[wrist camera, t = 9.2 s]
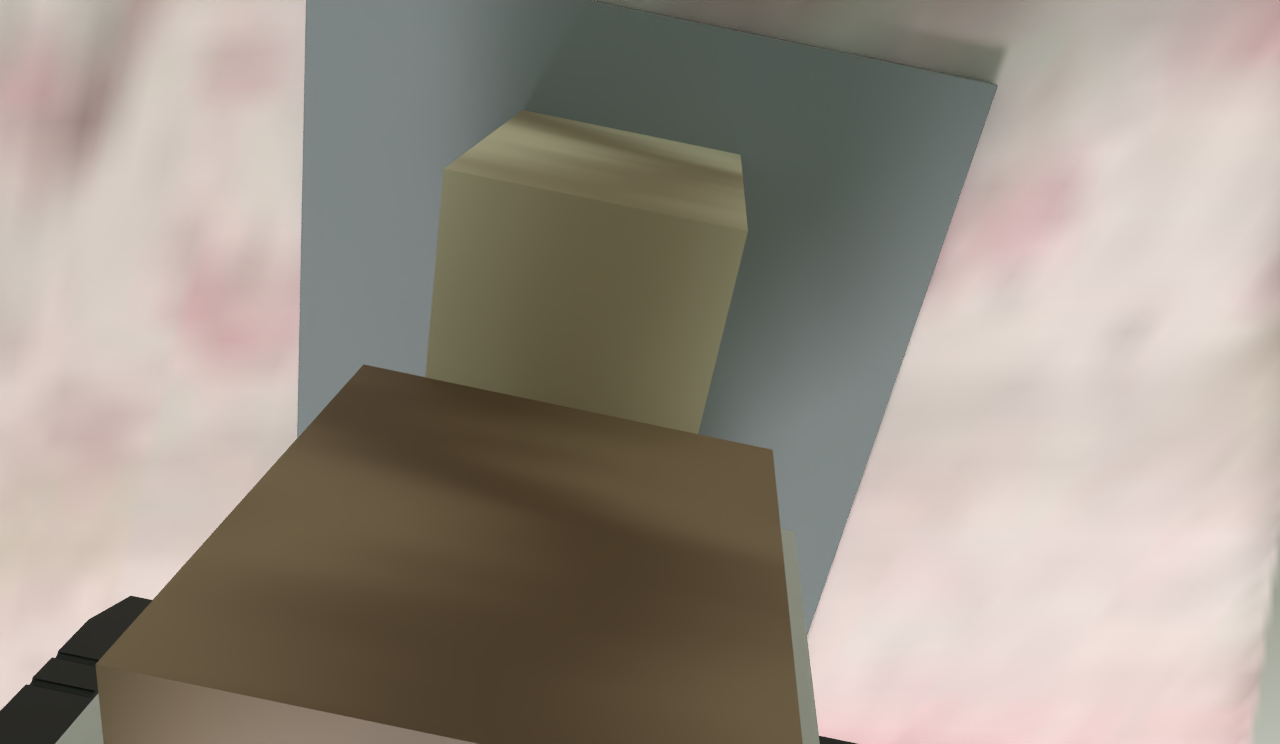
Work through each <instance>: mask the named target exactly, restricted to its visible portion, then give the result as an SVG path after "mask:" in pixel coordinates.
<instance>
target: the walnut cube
mask: <svg viewBox="0 0 1280 744" xmlns="http://www.w3.org/2000/svg"><path fill="white" fill-rule="evenodd" d="M95 665H96V674H97V684H98V694H99V703H100V713H101V723H102V733H103V742H104V744H803V743H802V733H801V723H800V713H799V703H798V694H797V684H796V674H795V664H794V654H793V645H792V635H791V625H790V615H789V605H788V595H787V586H786V576H785V566H784V556H783V546H782V537H781V527H780V517H779V507H778V497H777V488H776V478H775V468H774V458H773V450H771V449H767V448H762V447H757V446H752V445H748V444H743V443H738V442H733V441H728V440H724V439H719V438H714V437H709V436H704V435H700V434H695V433H690V432H685V431H680V430H676V429H671V428H666V427H661V426H656V425H652V424H647V423H642V422H637V421H632V420H628V419H623V418H618V417H613V416H608V415H604V414H599V413H594V412H589V411H584V410H580V409H575V408H570V407H565V406H560V405H556V404H551V403H546V402H541V401H536V400H532V399H527V398H522V397H517V396H512V395H508V394H503V393H498V392H493V391H488V390H484V389H479V388H474V387H469V386H464V385H460V384H455V383H450V382H445V381H441V380H436V379H431V378H426V377H422V376H417V375H412V374H408V373H403V372H398V371H393V370H388V369H384V368H379V367H374V366H369V365H364V364H363V365H362V367H361V368H360V369H359V370H358V371H357V372H356V373H355V374H354V376H353V377H352V378H351V379H350V380H349V381H348V382H347V383H346V384H345V386H344V387H343V388H342V389H341V390H340V391H339V392H338V393H337V395H336V396H335V397H334V398H333V399H332V400H331V401H330V402H329V403H328V405H327V406H326V407H325V408H324V409H323V410H322V411H321V412H320V414H319V415H318V416H317V417H316V418H315V419H314V420H313V421H312V423H311V424H310V425H309V426H308V427H307V428H306V429H305V430H304V431H303V433H302V434H301V435H300V436H299V437H298V438H297V439H296V440H295V442H294V443H293V444H292V445H291V446H290V447H289V448H288V449H287V450H286V452H285V453H284V454H283V455H282V456H281V457H280V458H279V459H278V461H277V462H276V463H275V464H274V465H273V466H272V467H271V468H270V470H269V471H268V472H267V473H266V474H265V475H264V476H263V477H262V478H261V480H260V481H259V482H258V483H257V484H256V485H255V486H254V487H253V489H252V490H251V491H250V492H249V493H248V494H247V495H246V496H245V498H244V499H243V500H242V501H241V502H240V503H239V504H238V505H237V506H236V508H235V509H234V510H233V511H232V512H231V513H230V514H229V515H228V517H227V518H226V519H225V520H224V521H223V522H222V523H221V524H220V525H219V527H218V528H217V529H216V530H215V531H214V532H213V533H212V534H211V536H210V537H209V538H208V539H207V540H206V541H205V542H204V543H203V545H202V546H201V547H200V548H199V549H198V550H197V551H196V552H195V553H194V555H193V556H192V557H191V558H190V559H189V560H188V561H187V562H186V564H185V565H184V566H183V567H182V568H181V569H180V570H179V571H178V572H177V574H176V575H175V576H174V577H173V578H172V579H171V580H170V581H169V583H168V584H167V585H166V586H165V587H164V588H163V589H162V590H161V592H160V593H159V594H158V595H157V596H156V597H155V598H154V599H153V600H152V602H151V603H150V604H149V605H148V606H147V607H146V608H145V609H144V611H143V612H142V613H141V614H140V615H139V616H138V617H137V618H136V620H135V621H134V622H133V623H132V624H131V625H130V626H129V627H128V628H127V630H126V631H125V632H124V633H123V634H122V635H121V636H120V637H119V639H118V640H117V641H116V642H115V643H114V644H113V645H112V646H111V647H110V649H109V650H108V651H107V652H106V653H105V654H104V655H103V656H102V658H101V659H100V660H99V661H98V662H97V663H96V664H95Z"/></svg>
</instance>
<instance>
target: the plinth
mask: <svg viewBox="0 0 1280 744" xmlns="http://www.w3.org/2000/svg"><path fill="white" fill-rule="evenodd" d="M747 233H748V226H747V215H746V205H745V195H744V184H743V174H742V163H741V155H740V154H735V153H730V152H725V151H720V150H715V149H711V148H706V147H701V146H696V145H691V144H686V143H681V142H677V141H672V140H667V139H662V138H657V137H652V136H647V135H643V134H638V133H633V132H628V131H623V130H618V129H613V128H608V127H604V126H599V125H594V124H589V123H584V122H579V121H574V120H570V119H565V118H560V117H555V116H550V115H545V114H540V113H536V112H531V111H526V110H522V111H521V112H519V113H518V114H517V115H515V116H514V117H513V118H511V119H510V120H509V121H507V122H506V123H505V124H503V125H502V126H500V127H499V128H498V129H496V130H495V131H494V132H492V133H491V134H490V135H488V136H487V137H486V138H484V139H483V140H482V141H480V142H479V143H478V144H476V145H475V146H474V147H472V148H471V149H470V150H468V151H467V152H465V153H464V154H463V155H461V156H460V157H459V158H457V159H456V160H455V161H453V162H452V163H451V164H449V165H448V166H447V167H445V168H444V172H443V183H442V195H441V206H440V217H439V228H438V239H437V251H436V262H435V273H434V284H433V295H432V307H431V318H430V329H429V340H428V351H427V363H426V374H425V377H426V378H431V379H436V380H441V381H445V382H450V383H455V384H460V385H464V386H469V387H474V388H479V389H484V390H488V391H493V392H498V393H503V394H508V395H512V396H517V397H522V398H527V399H532V400H536V401H541V402H546V403H551V404H556V405H560V406H565V407H570V408H575V409H580V410H584V411H589V412H594V413H599V414H604V415H608V416H613V417H618V418H623V419H628V420H632V421H637V422H642V423H647V424H652V425H656V426H661V427H666V428H671V429H676V430H680V431H685V432H690V433H695V434H698V432H699V428H700V424H701V420H702V416H703V412H704V408H705V404H706V400H707V396H708V392H709V388H710V383H711V379H712V375H713V371H714V367H715V363H716V359H717V355H718V351H719V347H720V343H721V339H722V335H723V331H724V327H725V323H726V318H727V314H728V310H729V306H730V302H731V298H732V294H733V290H734V286H735V282H736V278H737V274H738V270H739V266H740V262H741V258H742V253H743V249H744V245H745V241H746V237H747Z"/></svg>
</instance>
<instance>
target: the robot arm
mask: <svg viewBox="0 0 1280 744" xmlns="http://www.w3.org/2000/svg"><path fill="white" fill-rule="evenodd" d="M781 537H782V546H783V556H784V566H785V576H786V586H787V595H788V605H789V615H790V625H791V635H792V645H793V654H794V664H795V674H796V684H797V694H798V703H799V713H800V723H801V733H802V743H803V744H856V743H851V742H846V741H841V740H837V739H832V738H827V737H822V736H819V734H818V725H817V717H816V709H815V700H814V692H813V684H812V675H811V667H810V658H809V650H808V642H807V633H806V625H805V617H804V608H803V600H802V592H801V583H800V575H799V566H798V558H797V550H796V541H795V533H794V531H790V530H785V529H781ZM151 602H152V600H149V599H144V598H139V597H134V596H130V597H128V598H126V599H124V600H123V601H121V602H119V603H117V604H115V605H114V606H112V607H110V608H108V609H107V610H105V611H103V612H101V613H100V614H98V615H96V616H94V617H93V618H91V619H89V620H88V621H87V622H86V623H85V624H84V625H83V626H82V627H81V628H80V629H79V630H78V631H77V632H76V633H75V634H74V635H73V636H72V637H71V639H70V640H69V641H68V642H67V643H66V644H65V645H64V646H63V647H62V648H61V649H60V650H59V651H58V654H57V656H56V658H51V659H50V660H49V661H48V662H47V663H46V664H45V665H44V666H43V667H42V668H41V670H40V671H39V672H38V673H37V674H36V675H35V676H34V677H33V679H32V682H31V684H30V685H25V686H24V687H23V688H22V689H21V690H20V691H19V692H18V693H17V694H16V695H15V696H14V697H13V698H12V700H11V701H10V702H9V703H8V704H7V705H6V706H5V707H4V708H3V709H2V710H1V711H0V744H104V742H103V733H102V723H101V713H100V703H99V694H98V684H97V674H96V665H95V664H96V663H97V662H98V661H99V660H100V659H101V658H102V656H103V655H104V654H105V653H106V652H107V651H108V650H109V649H110V647H111V646H112V645H113V644H114V643H115V642H116V641H117V640H118V639H119V637H120V636H121V635H122V634H123V633H124V632H125V631H126V630H127V628H128V627H129V626H130V625H131V624H132V623H133V622H134V621H135V620H136V618H137V617H138V616H139V615H140V614H141V613H142V612H143V611H144V609H145V608H146V607H147V606H148V605H149V604H150V603H151Z"/></svg>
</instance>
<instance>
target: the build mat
mask: <svg viewBox="0 0 1280 744" xmlns="http://www.w3.org/2000/svg"><path fill="white" fill-rule="evenodd" d="M996 89H997V85H995V84H993V83H989V82H985V81H980V80H975V79H970V78H965V77H960V76H955V75H951V74H946V73H941V72H936V71H931V70H926V69H922V68H917V67H912V66H907V65H902V64H897V63H892V62H888V61H883V60H878V59H873V58H868V57H863V56H858V55H854V54H849V53H844V52H839V51H834V50H829V49H824V48H820V47H815V46H810V45H805V44H800V43H795V42H791V41H786V40H781V39H776V38H771V37H766V36H761V35H757V34H752V33H747V32H742V31H737V30H732V29H727V28H723V27H718V26H713V25H708V24H703V23H698V22H694V21H689V20H684V19H679V18H674V17H669V16H664V15H660V14H655V13H650V12H645V11H640V10H635V9H630V8H626V7H621V6H616V5H611V4H606V3H601V2H596V1H592V0H306V31H305V81H304V131H303V180H302V230H301V279H300V329H299V379H298V428H297V438H298V437H299V436H300V435H301V434H302V433H303V431H304V430H305V429H306V428H307V427H308V426H309V425H310V424H311V423H312V421H313V420H314V419H315V418H316V417H317V416H318V415H319V414H320V412H321V411H322V410H323V409H324V408H325V407H326V406H327V405H328V403H329V402H330V401H331V400H332V399H333V398H334V397H335V396H336V395H337V393H338V392H339V391H340V390H341V389H342V388H343V387H344V386H345V384H346V383H347V382H348V381H349V380H350V379H351V378H352V377H353V376H354V374H355V373H356V372H357V371H358V370H359V369H360V368H361V367H362V365H363V364H364V365H369V366H374V367H379V368H384V369H388V370H393V371H398V372H403V373H408V374H412V375H417V376H422V377H425V374H426V363H427V351H428V340H429V329H430V318H431V307H432V295H433V284H434V273H435V262H436V251H437V239H438V228H439V217H440V206H441V195H442V183H443V172H444V168H445V167H447V166H448V165H449V164H451V163H452V162H453V161H455V160H456V159H457V158H459V157H460V156H461V155H463V154H464V153H465V152H467V151H468V150H470V149H471V148H472V147H474V146H475V145H476V144H478V143H479V142H480V141H482V140H483V139H484V138H486V137H487V136H488V135H490V134H491V133H492V132H494V131H495V130H496V129H498V128H499V127H500V126H502V125H503V124H505V123H506V122H507V121H509V120H510V119H511V118H513V117H514V116H515V115H517V114H518V113H519V112H521V111H522V110H526V111H531V112H536V113H540V114H545V115H550V116H555V117H560V118H565V119H570V120H574V121H579V122H584V123H589V124H594V125H599V126H604V127H608V128H613V129H618V130H623V131H628V132H633V133H638V134H643V135H647V136H652V137H657V138H662V139H667V140H672V141H677V142H681V143H686V144H691V145H696V146H701V147H706V148H711V149H715V150H720V151H725V152H730V153H735V154H740V155H741V163H742V174H743V184H744V195H745V205H746V215H747V226H748V233H747V237H746V241H745V245H744V249H743V253H742V258H741V262H740V266H739V270H738V274H737V278H736V282H735V286H734V290H733V294H732V298H731V302H730V306H729V310H728V314H727V318H726V323H725V327H724V331H723V335H722V339H721V343H720V347H719V351H718V355H717V359H716V363H715V367H714V371H713V375H712V379H711V383H710V388H709V392H708V396H707V400H706V404H705V408H704V412H703V416H702V420H701V424H700V428H699V432H698V434H700V435H704V436H709V437H714V438H719V439H724V440H728V441H733V442H738V443H743V444H748V445H752V446H757V447H762V448H767V449H771V450H773V458H774V468H775V478H776V488H777V497H778V507H779V517H780V527H781V529H785V530H790V531H794V533H795V541H796V550H797V558H798V566H799V575H800V583H801V592H802V600H803V608H804V617H805V625H806V633H807V634H808V631H809V628H810V625H811V622H812V619H813V616H814V614H815V611H816V608H817V605H818V602H819V599H820V596H821V593H822V590H823V588H824V585H825V582H826V579H827V576H828V573H829V570H830V567H831V565H832V562H833V559H834V556H835V553H836V550H837V547H838V544H839V542H840V539H841V536H842V533H843V530H844V527H845V524H846V521H847V518H848V516H849V513H850V510H851V507H852V504H853V501H854V498H855V495H856V493H857V490H858V487H859V484H860V481H861V478H862V475H863V472H864V469H865V467H866V464H867V461H868V458H869V455H870V452H871V449H872V446H873V444H874V441H875V438H876V435H877V432H878V429H879V426H880V423H881V421H882V418H883V415H884V412H885V409H886V406H887V403H888V400H889V397H890V395H891V392H892V389H893V386H894V383H895V380H896V377H897V374H898V372H899V369H900V366H901V363H902V360H903V357H904V354H905V351H906V349H907V346H908V343H909V340H910V337H911V334H912V331H913V328H914V325H915V323H916V320H917V317H918V314H919V311H920V308H921V305H922V302H923V300H924V297H925V294H926V291H927V288H928V285H929V282H930V279H931V277H932V274H933V271H934V268H935V265H936V262H937V259H938V256H939V253H940V251H941V248H942V245H943V242H944V239H945V236H946V233H947V230H948V228H949V225H950V222H951V219H952V216H953V213H954V210H955V207H956V205H957V202H958V199H959V196H960V193H961V190H962V187H963V184H964V181H965V179H966V176H967V173H968V170H969V167H970V164H971V161H972V158H973V156H974V153H975V150H976V147H977V144H978V141H979V138H980V135H981V133H982V130H983V127H984V124H985V121H986V118H987V115H988V112H989V109H990V107H991V104H992V101H993V98H994V95H995V92H996Z"/></svg>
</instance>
